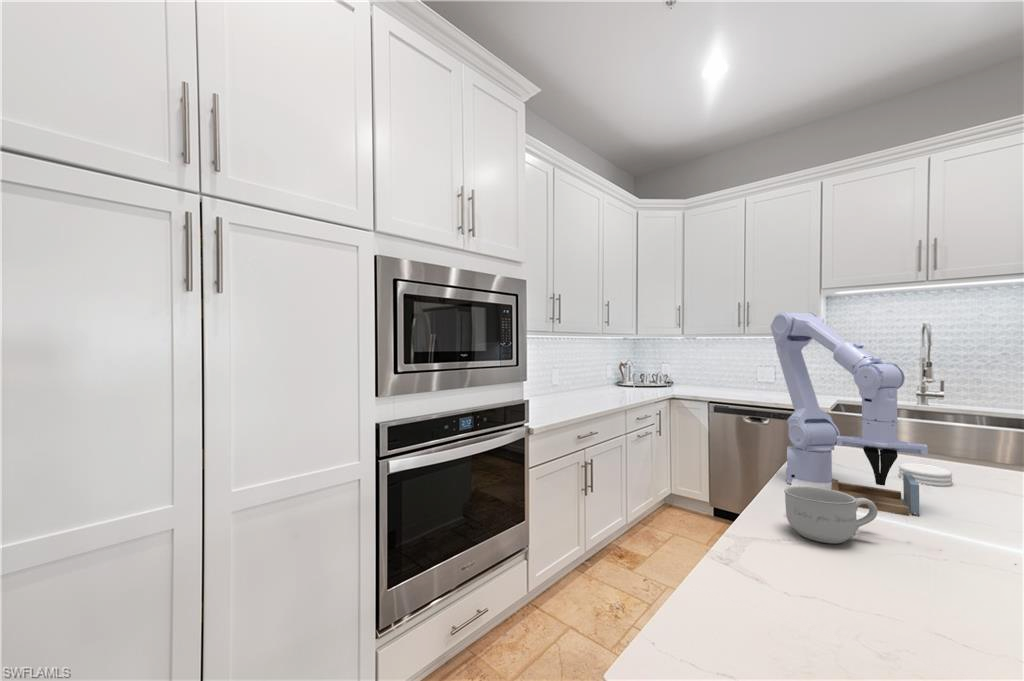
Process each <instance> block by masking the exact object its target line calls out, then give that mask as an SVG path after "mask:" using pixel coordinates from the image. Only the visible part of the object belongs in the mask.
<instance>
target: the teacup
mask: <svg viewBox="0 0 1024 681" xmlns="http://www.w3.org/2000/svg"><path fill="white" fill-rule="evenodd" d="M783 491H784V496H785V497H784V498H785V499H784V501H785V512H786V520H787V522H788V523H789V525H790V526H791V527H792V528H793V529H794V530H795V531H797V533H798V534H800V536H802V537H804V538H806V539H809V540H811V541H814V542H818V543H819V542H820V543H825V544H841V543H845V542H846V541H847V540H849V539H852V538H853V537H854V536H855V534H856V531H857V530H858V529H859V528H860V527H862V526H864V525H867V524H869V523H871V522H872V521H874V520H875V519H876V517H877V516H878V511H877V508H876V506H875V504H874V503H873V502H872V501H870V500H868V499H866V498H857V499H855V498H854V497H853V496H851V495H849V494H846V493H843V492H840V491H835V490H832V488H831V489H829V488H825V487H824V488H823V487H817V486H807V485H806V486H805V485H798V486H797V485H796V486H795V485H793V486H788V487H786V488H784V490H783ZM861 504H867V505H868V507H869V509H868V510H869V511H868V513H867V514H866V515H864V516H863V517H861V518H858V519H857V512H858V508H859V507H858V506H860V505H861Z"/></svg>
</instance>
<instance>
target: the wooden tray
mask: <svg viewBox="0 0 1024 681" xmlns="http://www.w3.org/2000/svg"><path fill="white" fill-rule="evenodd" d="M831 490H835V491H840V492H843V493H846V494H849V495H851V496H853V497H854V498H855V499H857V498H866V499H868V500H870V501H872V502H873V503H874V504H875V506H876V508H877V512H885V513H889V514H890V513H891V514H894V515H901V516H907V517H910V512H909V507H908V506H906V505H904V504H905V503H904V501H902V492H901V491H900V490H895V489H886V488H880V487H875V486H868V485H862V484H854V483H850V482H849V483H847V482H842V481H841V482H840V481H839V479H834V478H832V482H831ZM858 508H861V509H866V510H869V507H868V505H867V504H861V505H860V506H858Z"/></svg>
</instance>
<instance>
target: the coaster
mask: <svg viewBox="0 0 1024 681" xmlns="http://www.w3.org/2000/svg"><path fill="white" fill-rule="evenodd" d="M903 472H906V473H911V474H912V476H913V477H914V479H915V480H916V481H917V483H921V484H920V485H923V484H925V485H924V486H929V485H932V486H931V487H942V488H943V487H944V488H945V487H946V488H947V487H951V486H953V482H952V481H953V473H952V472H951V471H950V470H949V469H946V468H944V467H940V466H935V465H931V464H930V465H929V464H923V463H917V462H905V463H903V462H902V463H899V465H898V477H899V476H900V477H902V478H903ZM900 477H899V478H900Z"/></svg>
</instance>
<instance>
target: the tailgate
mask: <svg viewBox="0 0 1024 681" xmlns="http://www.w3.org/2000/svg"><path fill="white" fill-rule="evenodd" d="M902 481H903V484H902V485H903V487H902V489H903V503H904V504H905V506H908V507H909V514H910V515H911V516H912V517H920V484H918V483H917V481H916V480H915V479H914V477H913V476H912V474H911V473H906V472H903V479H902Z"/></svg>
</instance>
